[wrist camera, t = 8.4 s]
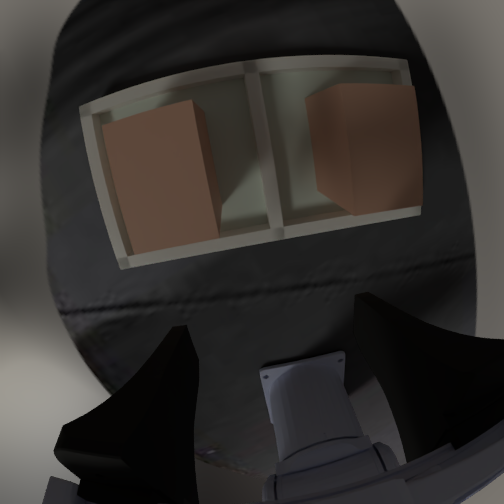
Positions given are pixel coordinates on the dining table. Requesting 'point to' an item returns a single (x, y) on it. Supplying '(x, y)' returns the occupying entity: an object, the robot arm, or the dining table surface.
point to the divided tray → (245, 147)
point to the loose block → (367, 146)
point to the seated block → (165, 176)
